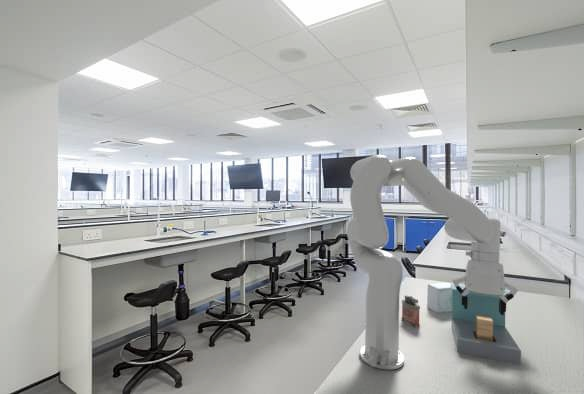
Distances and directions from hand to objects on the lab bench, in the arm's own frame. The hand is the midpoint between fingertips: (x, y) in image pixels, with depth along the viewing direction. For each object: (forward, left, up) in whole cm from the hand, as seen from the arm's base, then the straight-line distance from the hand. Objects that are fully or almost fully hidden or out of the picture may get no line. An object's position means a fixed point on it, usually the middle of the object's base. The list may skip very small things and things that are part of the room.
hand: (482, 310), depth 91 cm
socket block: (+4, -1, -12) cm, 13 cm away
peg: (0, 0, -12) cm, 12 cm away
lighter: (+11, +21, -13) cm, 27 cm away
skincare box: (+32, +9, -13) cm, 35 cm away
